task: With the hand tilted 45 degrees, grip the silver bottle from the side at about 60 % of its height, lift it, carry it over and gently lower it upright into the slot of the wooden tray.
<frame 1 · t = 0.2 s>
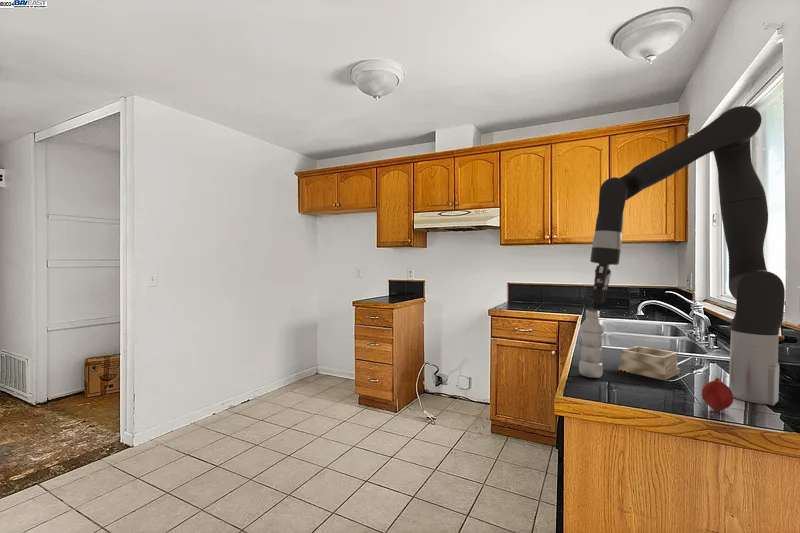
hand: (599, 302, 116), 23 cm above the worktop, tool pointing down, fingers open, 8 cm apart
wooden tray: (648, 371, 126), on the worktop
onion: (716, 412, 93), on the worktop
silver bottle: (590, 377, 119), on the worktop
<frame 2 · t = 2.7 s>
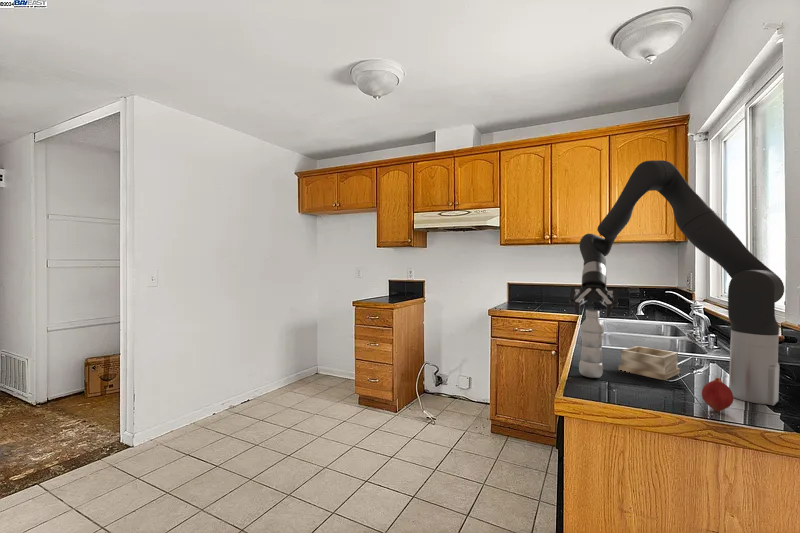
hand: (592, 314, 126), 18 cm above the worktop, tool tilted 45°, fingers open, 8 cm apart
nothing on the worktop moved.
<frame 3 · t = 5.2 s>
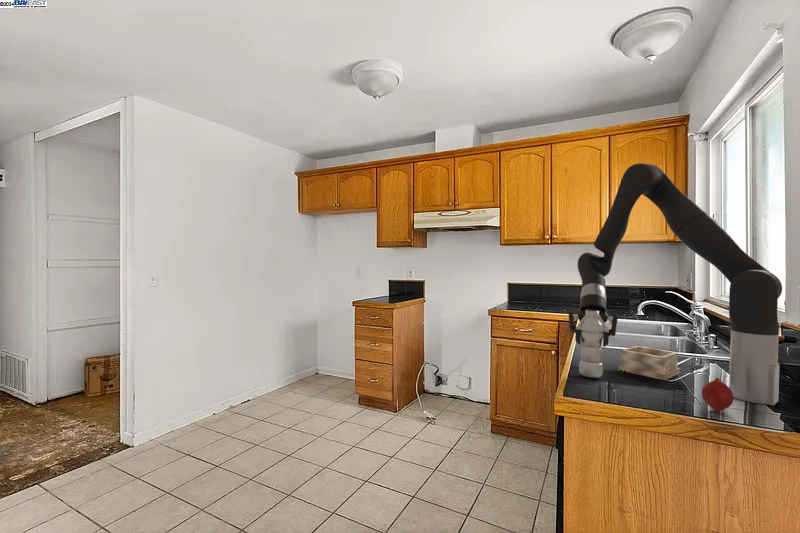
hand: (591, 343, 117), 10 cm above the worktop, tool tilted 45°, fingers closed on silver bottle, 6 cm apart
silver bottle: (590, 377, 119), on the worktop, touching gripper
everything else where it was.
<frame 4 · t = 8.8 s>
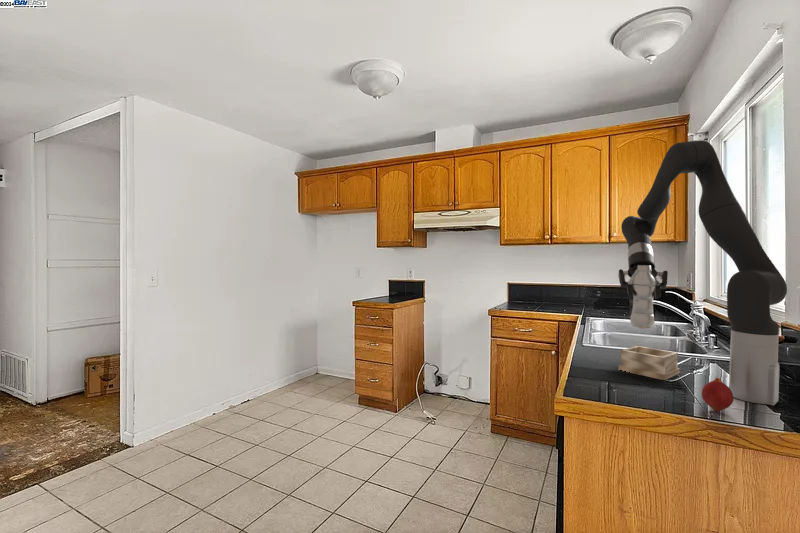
hand: (644, 296, 124), 24 cm above the worktop, tool tilted 45°, fingers closed on silver bottle, 6 cm apart
silver bottle: (642, 329, 125), point 14 cm above the worktop, touching gripper
everything else where it was.
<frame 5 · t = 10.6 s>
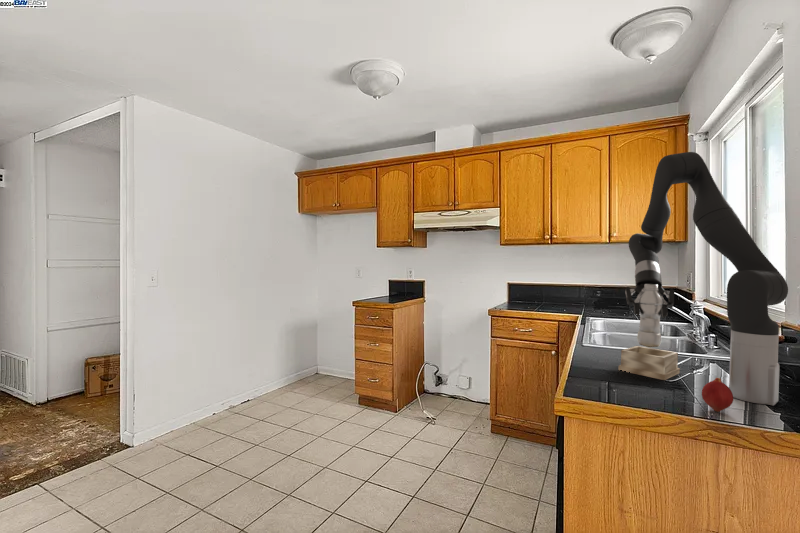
hand: (651, 315, 125), 18 cm above the worktop, tool tilted 45°, fingers closed on silver bottle, 6 cm apart
silver bottle: (648, 347, 127), point 8 cm above the worktop, touching gripper
everything else where it was.
when the fingers open (13 cm above the worktop, at t = 12.3 s): silver bottle drops 1 cm, resting on wooden tray.
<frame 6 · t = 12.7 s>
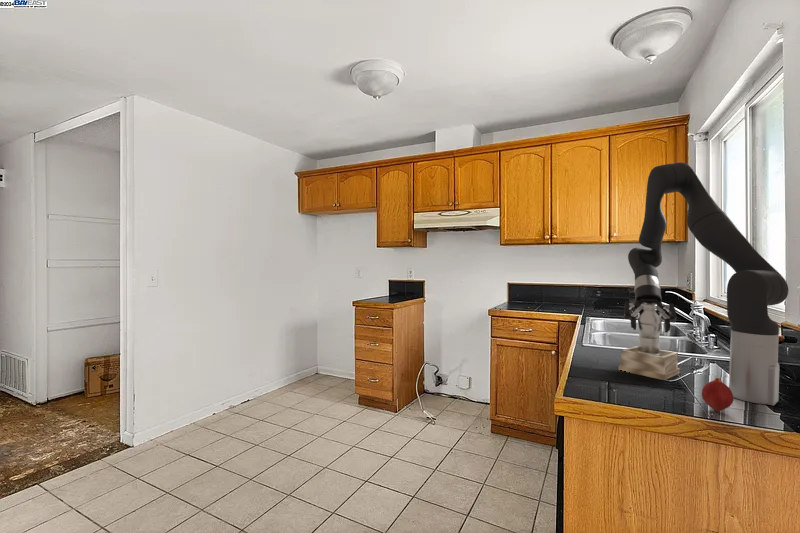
hand: (650, 329, 125), 14 cm above the worktop, tool tilted 45°, fingers open, 8 cm apart
silver bottle: (648, 367, 127), point 1 cm above the worktop, touching wooden tray
everything else where it was.
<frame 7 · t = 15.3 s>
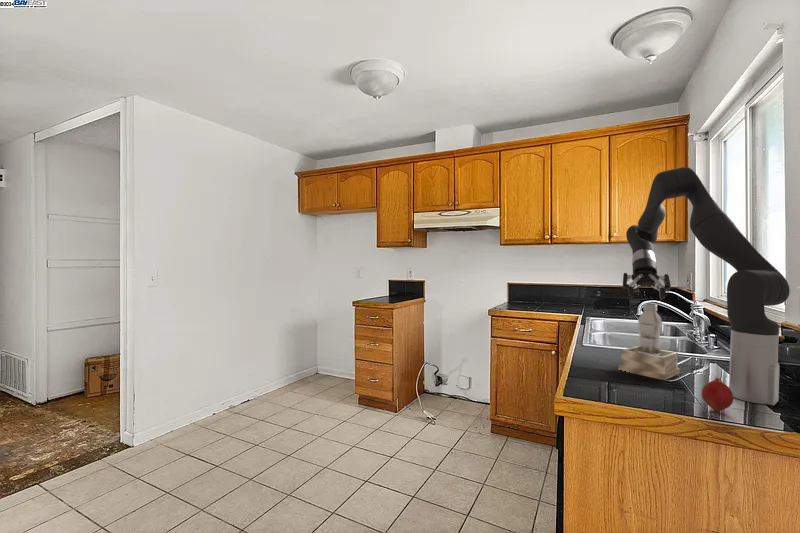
hand: (646, 297, 136), 23 cm above the worktop, tool tilted 45°, fingers open, 8 cm apart
nothing on the worktop moved.
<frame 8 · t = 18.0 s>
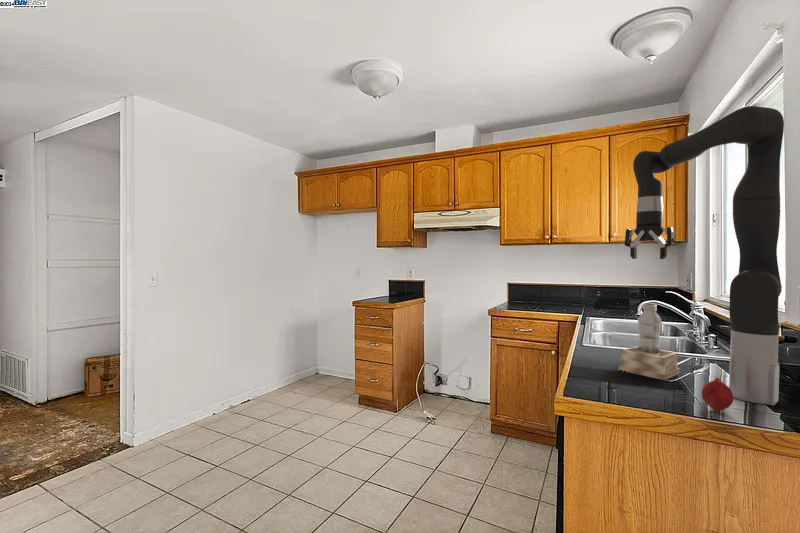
hand: (648, 259, 134), 36 cm above the worktop, tool pointing down, fingers open, 8 cm apart
nothing on the worktop moved.
at the end: silver bottle 0.4 cm off-centre on the wooden tray, point 1.3 cm above the wooden tray's base; silver bottle tilted 0°; the gripper is holding nothing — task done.
